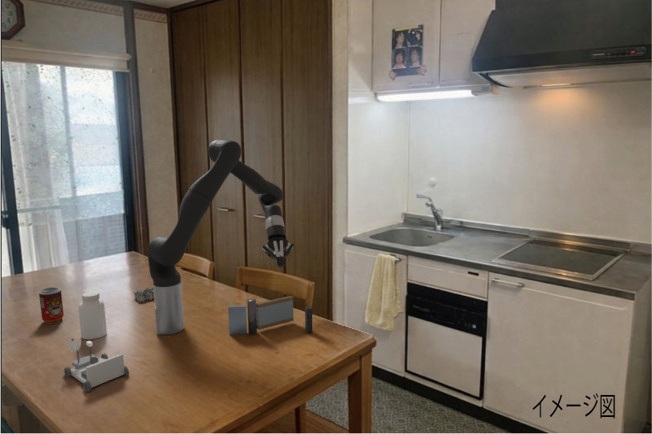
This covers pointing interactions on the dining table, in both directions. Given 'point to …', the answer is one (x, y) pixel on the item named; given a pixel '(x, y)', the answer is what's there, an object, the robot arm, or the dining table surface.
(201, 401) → the dining table surface
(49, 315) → the soda can
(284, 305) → the gate
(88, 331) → the pill bottle
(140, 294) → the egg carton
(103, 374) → the toy space rover
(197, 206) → the robot arm
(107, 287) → the dining table surface
